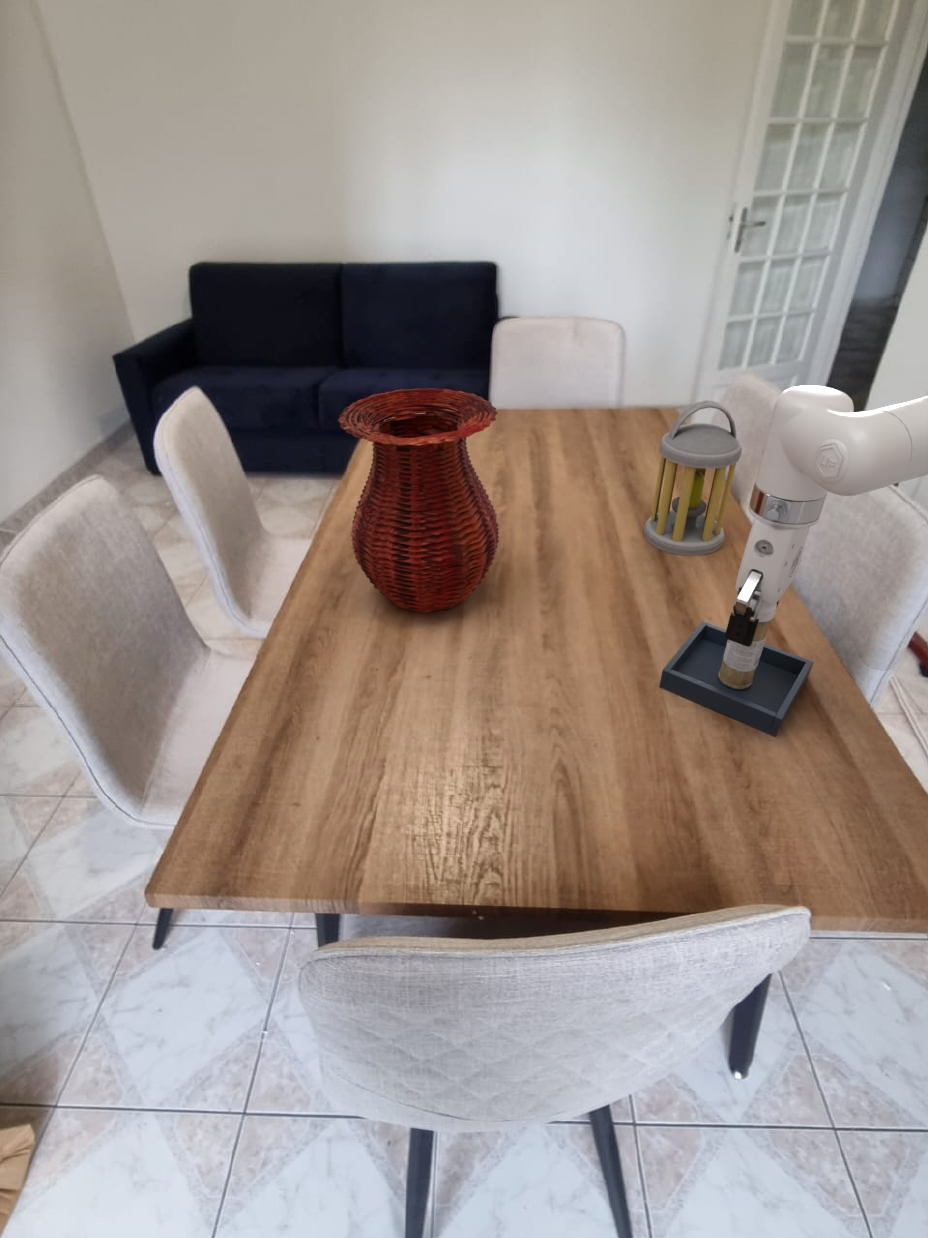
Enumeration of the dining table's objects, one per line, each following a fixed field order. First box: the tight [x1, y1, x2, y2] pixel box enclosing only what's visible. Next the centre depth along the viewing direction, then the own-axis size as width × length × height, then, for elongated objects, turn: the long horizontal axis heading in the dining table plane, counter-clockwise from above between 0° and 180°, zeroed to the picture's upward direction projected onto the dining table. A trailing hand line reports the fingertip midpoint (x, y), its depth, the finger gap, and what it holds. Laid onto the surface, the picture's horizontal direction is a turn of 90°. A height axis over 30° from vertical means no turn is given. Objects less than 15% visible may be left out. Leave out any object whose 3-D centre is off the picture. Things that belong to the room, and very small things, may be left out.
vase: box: [337, 387, 500, 613], centre depth 104 cm, size 23×24×30 cm
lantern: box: [643, 399, 743, 557], centre depth 117 cm, size 14×14×25 cm
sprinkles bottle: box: [718, 591, 778, 689], centre depth 88 cm, size 5×5×13 cm
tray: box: [659, 620, 814, 737], centre depth 92 cm, size 16×14×3 cm
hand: (751, 622), depth 86 cm, fingers open, 9 cm apart
